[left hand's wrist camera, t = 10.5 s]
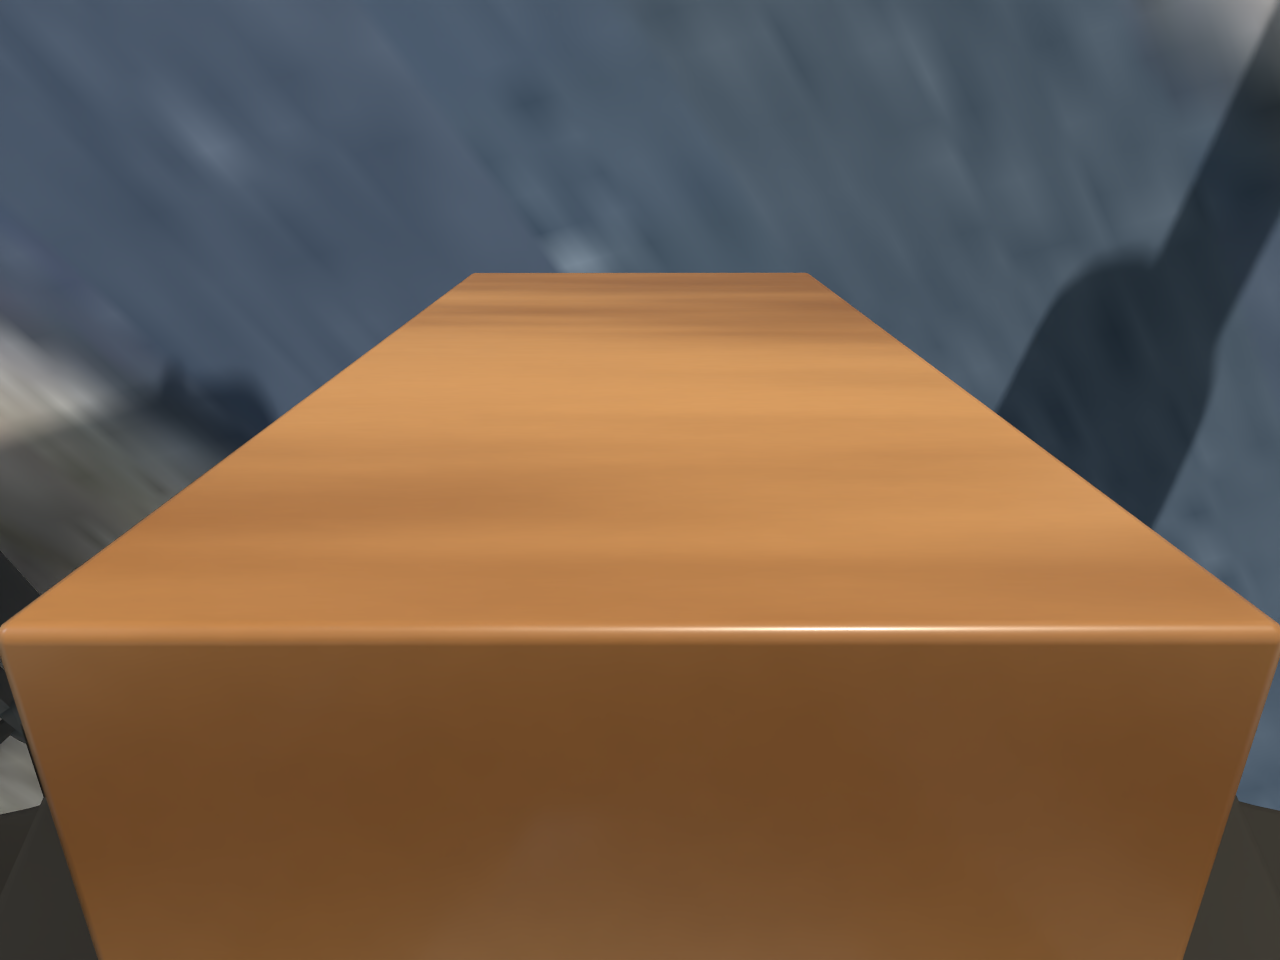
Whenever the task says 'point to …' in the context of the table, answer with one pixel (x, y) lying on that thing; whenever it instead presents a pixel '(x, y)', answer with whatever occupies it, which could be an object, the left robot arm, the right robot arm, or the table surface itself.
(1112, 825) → the box
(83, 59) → the table surface
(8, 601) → the toy
